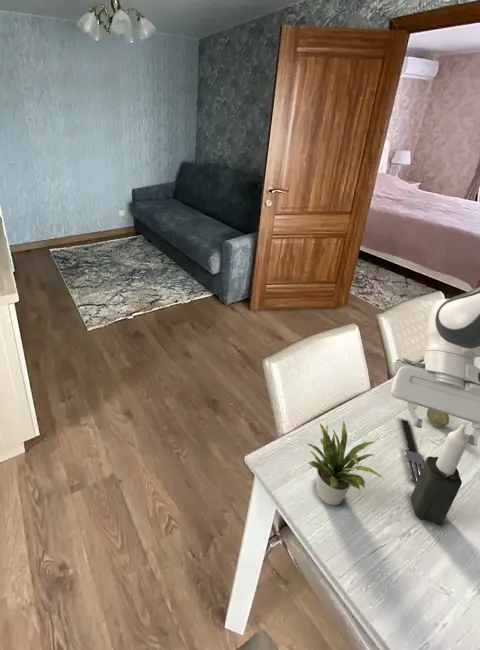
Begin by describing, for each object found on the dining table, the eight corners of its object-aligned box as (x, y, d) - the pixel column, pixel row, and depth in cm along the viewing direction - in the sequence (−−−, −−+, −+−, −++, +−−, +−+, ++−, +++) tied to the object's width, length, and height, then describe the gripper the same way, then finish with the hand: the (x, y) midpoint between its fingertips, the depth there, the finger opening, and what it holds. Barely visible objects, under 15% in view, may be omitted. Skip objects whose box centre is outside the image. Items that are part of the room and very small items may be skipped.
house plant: (380, 496, 76) (399, 444, 70) (357, 548, 67) (376, 494, 61) (318, 453, 86) (329, 404, 79) (290, 493, 77) (301, 441, 70)
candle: (415, 518, 72) (452, 432, 63) (409, 494, 77) (442, 411, 67) (444, 527, 71) (486, 441, 61) (436, 502, 75) (474, 418, 66)
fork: (411, 423, 94) (412, 422, 94) (428, 486, 78) (429, 485, 78) (396, 419, 95) (397, 418, 95) (410, 480, 79) (411, 479, 79)
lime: (446, 432, 91) (452, 419, 89) (424, 423, 94) (429, 409, 92) (446, 421, 94) (452, 408, 93) (425, 412, 97) (430, 399, 95)
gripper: (397, 353, 79) (389, 417, 74) (513, 384, 70) (512, 457, 66) (391, 357, 84) (383, 416, 80) (498, 386, 76) (496, 454, 71)
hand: (442, 435), depth 73 cm, fingers open, 8 cm apart
